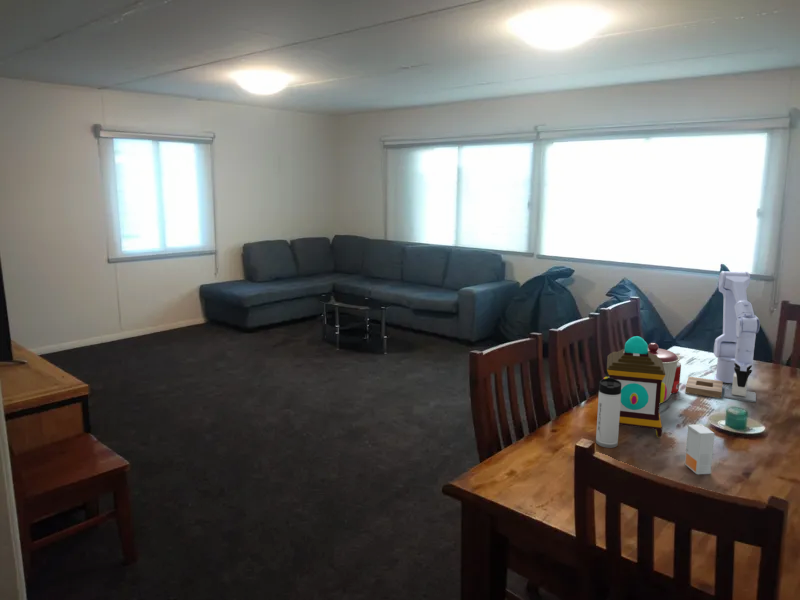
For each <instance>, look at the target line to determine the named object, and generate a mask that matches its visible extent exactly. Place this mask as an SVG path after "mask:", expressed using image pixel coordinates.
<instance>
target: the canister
mask: <svg viewBox="0 0 800 600" xmlns="http://www.w3.org/2000/svg"><path fill="white" fill-rule="evenodd" d="M647 345H648V351H649V352H650V353H651V354H652V355H657V356H658V357H659V358H660V359H661V360H662V362H663V366H664V370H665V374H666V375H665V377H664V379H663V380H662V382H663V383H664V384H665V385H666V388H667V396H666V399H665V401H664V402H666V401H667V400H669V398H670V396H671V394H672V393H671V390H672V386H673V382H674V377H675V372H676V368H677V362H680V360H681V357H680V356H679V355H677V354H676V353H674V351H670V350H668V349H664V348H659V345H658V344H657V343H656V342H650V343H649V344H647ZM664 402H663V403H664Z"/></svg>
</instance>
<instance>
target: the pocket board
mask: <svg viewBox="0 0 800 600" xmlns="http://www.w3.org/2000/svg"><path fill="white" fill-rule="evenodd" d="M723 383H724V382H723V381H718V380H714V379H710V378H709V379H708V378H703V377H702V378H701V377H696V376H695V377H694V376H688V377H687V381H686V384H685V389H684V390H685V392H684V393H685V394H692V395H698V396H704V397H705V396H706V397H711V398H712V397H713V398H717V399H722V395H723V393H722V392H723V385H724V384H723Z"/></svg>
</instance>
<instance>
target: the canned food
mask: <svg viewBox="0 0 800 600" xmlns="http://www.w3.org/2000/svg"><path fill="white" fill-rule="evenodd" d="M681 370H682V363H681V362H680V361H678V362H677V368H676V372H675V377H674V382H673V386H672V390H671V394H677V393H679V391H680V382H681V381H680V380H681V373H682V372H681Z"/></svg>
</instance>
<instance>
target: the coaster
mask: <svg viewBox="0 0 800 600" xmlns="http://www.w3.org/2000/svg"><path fill="white" fill-rule="evenodd" d="M724 399H731V400H737V401H744V402H749V403H750V402H752V403H756V402H757V394H756V392H754V391H749V390H748V391H747V390H746V397H745V396H739V395H733V394H732V388H724Z"/></svg>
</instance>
